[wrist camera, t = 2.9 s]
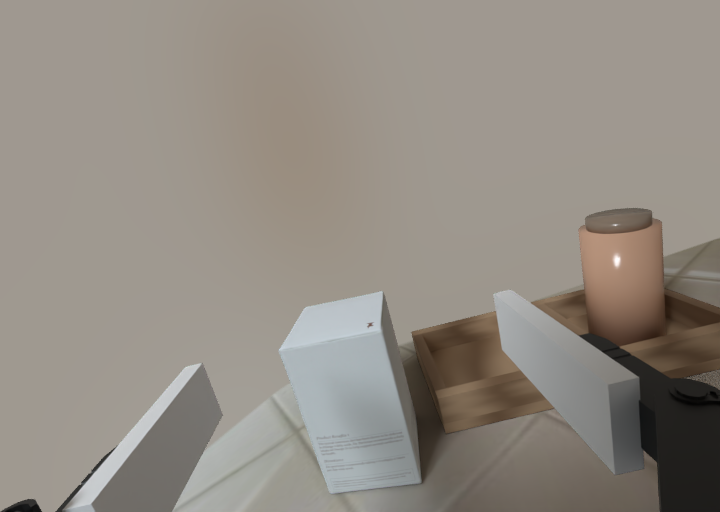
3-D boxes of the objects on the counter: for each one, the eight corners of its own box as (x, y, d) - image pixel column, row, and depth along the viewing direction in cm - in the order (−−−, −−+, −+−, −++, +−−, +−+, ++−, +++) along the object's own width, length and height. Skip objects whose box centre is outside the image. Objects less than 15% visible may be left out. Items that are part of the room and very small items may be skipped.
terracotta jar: (630, 313, 36) (623, 204, 33) (684, 340, 30) (681, 210, 27) (575, 327, 36) (563, 219, 33) (618, 356, 30) (609, 228, 28)
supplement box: (417, 413, 31) (386, 288, 28) (423, 487, 24) (383, 330, 21) (341, 423, 32) (304, 304, 30) (325, 496, 25) (275, 349, 22)
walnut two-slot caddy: (635, 305, 39) (633, 277, 38) (757, 360, 27) (758, 321, 27) (417, 358, 40) (411, 331, 39) (446, 433, 28) (438, 398, 27)
